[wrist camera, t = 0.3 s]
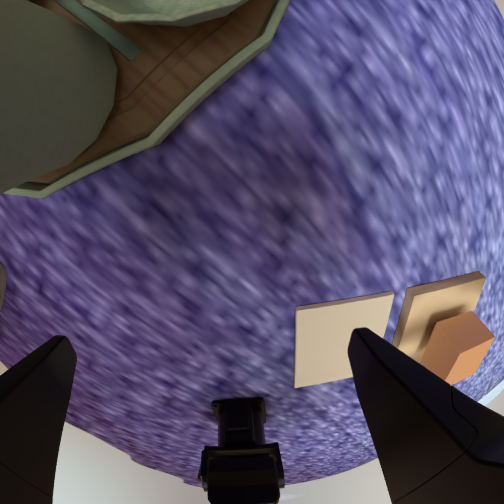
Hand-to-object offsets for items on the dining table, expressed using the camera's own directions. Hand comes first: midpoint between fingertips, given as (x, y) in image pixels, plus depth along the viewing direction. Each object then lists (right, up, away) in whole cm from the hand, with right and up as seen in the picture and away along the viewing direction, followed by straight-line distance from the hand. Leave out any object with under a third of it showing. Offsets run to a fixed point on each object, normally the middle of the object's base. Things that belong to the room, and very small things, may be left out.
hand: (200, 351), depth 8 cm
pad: (+11, -7, +20) cm, 24 cm away
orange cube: (+24, -7, +18) cm, 31 cm away
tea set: (-15, +27, +2) cm, 30 cm away
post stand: (+24, -6, +21) cm, 32 cm away
